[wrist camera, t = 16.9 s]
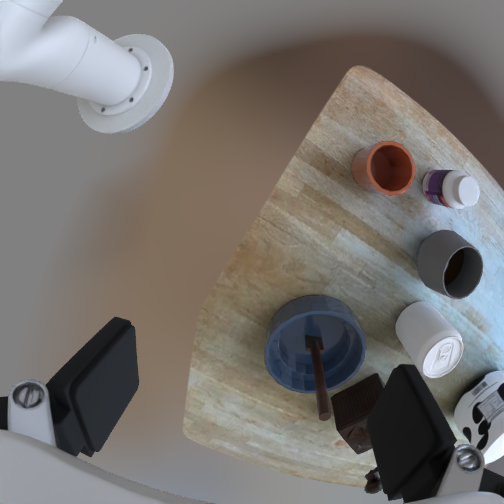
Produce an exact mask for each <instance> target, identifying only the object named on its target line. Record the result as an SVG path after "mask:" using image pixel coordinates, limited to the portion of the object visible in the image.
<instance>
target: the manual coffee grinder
mask: <svg viewBox="0 0 504 504" xmlns="http://www.w3.org/2000/svg"><path fill="white" fill-rule="evenodd" d="M384 387H385V384H384V382H383V381H382V379H381V378H380V376H379V375H378V373H377V374H375V375H372V376H370V377H368V378H366V379H364V380H363V381H361V382H359V383H357V384H355V385H353V386H351V387H349V388H347V389H345V390H343V391H341V392H339V393H337V394H335V395H334V396H333V397H332V398H331V400H332V405H333V410H334V416H335V423H336V428H337V431H338V432H339V434H340V435H341V436H342V438H343V439H344V440H345V441H346V442H347V443H348V445H349V446H350V447H351V448H352V449H353V450H354V451H355V452H356V453H357V454H360V453H363V452H365V451H367V450H370V449H372V444H371V440H370V436H369V432H368V429H367V419H368V416H369V415H370V413H371V411H372V409H373V408H374V406H375V404H376V402H377V400H378V398H379V397H380V395H381V393H382V391H383V389H384ZM365 478H366V479H367V480H368V481H367V484H366V486H365V491H366V493H371V494H373V493H377V492H379V491H381V490H382V489H383V488H382V484H381V480H380V478H379V471H378V467H376V468H375V469H374V470H370V472H369V473H368V474H366V475H365Z"/></svg>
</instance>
